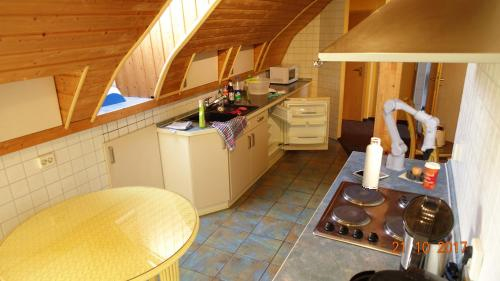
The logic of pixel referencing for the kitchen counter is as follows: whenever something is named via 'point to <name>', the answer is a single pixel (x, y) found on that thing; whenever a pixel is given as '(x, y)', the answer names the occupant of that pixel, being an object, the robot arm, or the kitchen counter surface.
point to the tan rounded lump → (417, 171)
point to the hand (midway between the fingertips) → (425, 160)
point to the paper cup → (430, 175)
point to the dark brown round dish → (414, 176)
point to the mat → (406, 178)
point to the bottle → (372, 164)
